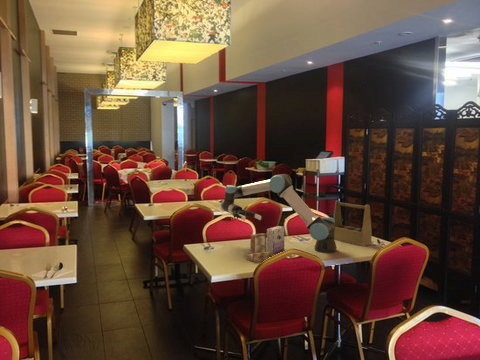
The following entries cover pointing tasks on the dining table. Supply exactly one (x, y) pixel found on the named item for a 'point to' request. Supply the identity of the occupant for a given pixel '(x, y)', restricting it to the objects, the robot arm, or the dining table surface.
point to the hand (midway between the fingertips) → (252, 218)
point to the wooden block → (258, 243)
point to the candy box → (275, 239)
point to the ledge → (259, 256)
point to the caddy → (351, 233)
